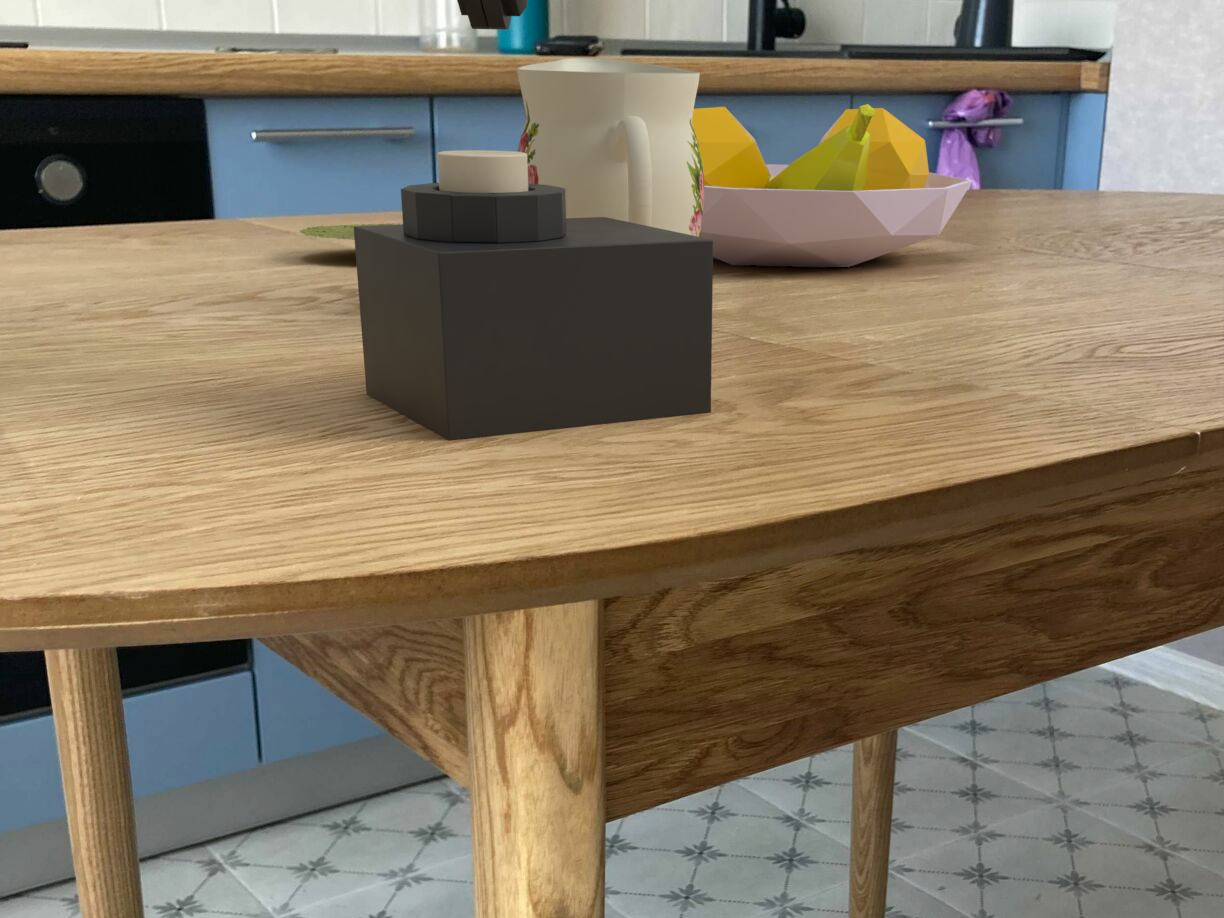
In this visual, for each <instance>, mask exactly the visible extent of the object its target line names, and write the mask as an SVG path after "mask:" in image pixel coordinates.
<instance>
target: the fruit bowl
mask: <svg viewBox="0 0 1224 918" xmlns="http://www.w3.org/2000/svg"><path fill="white" fill-rule="evenodd" d="M692 124H693V128H694V131H695V134H696V138H697V141H698V144H699V149H700V153H701V157H702V163H703V170H704V205H703V216H702V223H701V229H700V234H699V237H702V238H707V239H712V240H713V259H716V260H719V261H722V262H723V263H726V264H728V265H731V266H747V267H748V266H750V265H756V266H755V267H787V266H792V268H795V267H796V268H826V267H848V268H850V266H851V267H854V266H856V265H859V264H861V263H865V262H868V261H870V260H873V259H875V258H879V257H881V256H885V255H887V254H891V253H893V252H895V251H898V250H901V249H904V248H907V247H909V246H913V245H916V244H918V243H920V242H924V241H926V240H930V239H932V238H936V237H938V236H940V234H941V233H942V231H943V230H944V229H945V226H946V225H947V223H948V221H949V220H950V218H951V217H952V215H953V214H954V212H955V210H956V209H957V208H958V206H959V204H960V203H961V201H962V199H963V198H964V196H965V195H966V193H967V192H968V190H969V188H970V187H971V186H972V184H973V182H974V180H973V179H965V178H962V177H961V178H960V177H955V176H950V175H946V174H945V175H944V174H939V173H934V172H930V169H929V162H928V153H927V145H926V140H925V139H924V137H922V136H920V135H919V134H918V133H916V132H915V131H914V130H912V129H911V128H910V127H909V126H907V125H906V124H904V123H903V122H902V121H901V120H899V119H898V118H897V117H896V116H894V115H893V114H892V113H890V112H889V111H888V110H886V108H883V107H872V105H870V104H868V103H867V104H863V105H859V107H858V108H846V109H845V110H844V111H843V112H842V114H841V115H840V116H839V117H838V118H837V119H836V121H835V122H834V123H833V124H832V125H831V127H830V128H829V129H828V130H827V131H826V132H825V134H824V135H823V136H822V137H821V139H820V141H819V143H818V145H816V146H815V147H813V148H812V149H811V150H809V151H807V152H805V153H804V154H803V155H801V156H800V157H798V158H797V159H795V160H793V161H792V162H791V163H789V164H772V163H771V164H769V163H766V162H765V160H764V159H765V158H764V157H763V154H762V152H761V150H760V148H759V145H758V143H757V140H756V139H755V138H754V136H753V135H752V134H751V133H750V132H749V131H748V129H746V127H744V126H743V124H742V123H741V122H740V121H739V120H738V119H737V118H736V117H735V116H734V115H733V114H732V113H731V111H730V110H728V109H727V107H726V106H713V107H701V108H700V107H699V108H694V110H693V118H692Z"/></svg>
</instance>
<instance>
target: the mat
mask: <svg viewBox="0 0 1224 918" xmlns="http://www.w3.org/2000/svg"><path fill="white" fill-rule="evenodd" d="M400 224H401V223H361V224H356V223H355V224H344V225H343V224H342V225H341V224H340V225H317V226H311V227H307V228H304V229H300V230H299V233H300V234H302V235H305V236H306V237H307V236H310V237H314V238H315V237H318V238H323V239H324V238H327V239H335V240H340V239H341V240H354V241H355V238H354V227H355V226H373V225H400Z"/></svg>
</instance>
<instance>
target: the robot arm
mask: <svg viewBox="0 0 1224 918" xmlns="http://www.w3.org/2000/svg"><path fill="white" fill-rule="evenodd" d="M456 1H457V5H458V9H459V12H460V15H461V16H467V18H468V21H469V24H470V27H471V29H472V30H503V31H505V30H507V31H508V30H509V29H510V26H511V21H512V17H521V16H522V14H523V13H524V12H525V10H526V9H527V7H528V2H529V0H456Z"/></svg>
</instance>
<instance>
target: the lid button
mask: <svg viewBox="0 0 1224 918" xmlns="http://www.w3.org/2000/svg"><path fill="white" fill-rule="evenodd" d="M437 171H438V172H437V173H438V183H439V191H451V192H467V193H505V192H524V191H528V163H527V154H526V153H523V152H518V151H513V150H494V149H493V150H492V149H491V150H487V149H462V150H461V149H460V150H459V149H458V150H457V149H456V150H443V151H438V152H437Z"/></svg>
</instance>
